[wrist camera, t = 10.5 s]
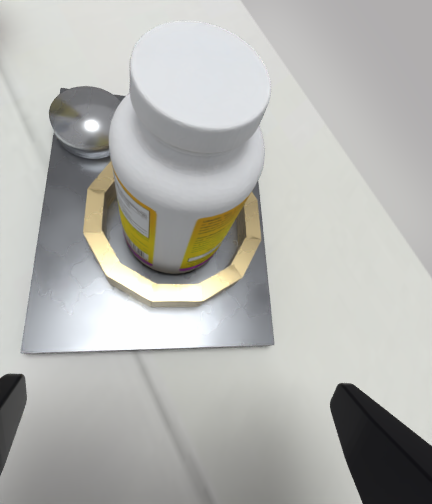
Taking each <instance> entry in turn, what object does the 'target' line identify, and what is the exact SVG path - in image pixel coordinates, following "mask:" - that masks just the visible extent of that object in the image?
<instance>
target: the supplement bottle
mask: <svg viewBox="0 0 432 504" xmlns="http://www.w3.org/2000/svg"><path fill="white" fill-rule="evenodd" d="M129 91H130V93H129V94H128V95H127V96H126V97H125V98H124V99H123V100H122V101H121V103H120V104H119V106H118V107H117V109H116V111H115V113H114V115H113V118H112V121H111V125H110V130H109V150H110V158H111V164H112V169H113V175H114V180H115V187H116V193H117V199H118V205H119V211H120V217H121V223H122V229H123V233H124V237H125V240H126V243H127V245H128V247H129V248H130V250H131V252H132V253H133V254H134V255H135V257H136V258H137V259H138V260H140V261H141V262H142V263H143V264H145V265H146V266H148V267H150V268H152V269H154V270H156V271H160V272H163V273H170V274H179V273H186V272H190V271H193V270H195V269H197V268H199V267H201V266H203V265H204V264H205V263H207V262H208V261H209V260H210V259H211V258H212V257H213V255H214V254H215V253H216V251H217V250H218V248H219V246H220V245H221V243H222V241H223V240H224V238H225V236H226V235H227V233H228V231H229V229H230V228H231V226H232V224H233V223H234V221H235V219H236V217H237V216H238V214H239V212H240V211H241V209H242V207H243V206H244V204H245V202H246V201H247V199H248V197H249V196H250V194H251V192H252V191H253V189H254V187H255V185H256V183H257V182H258V180H259V177H260V175H261V172H262V169H263V165H264V156H265V148H264V140H263V135H262V132H261V129H260V126H259V125H260V122H261V120H262V118H263V115H264V113H265V110H266V108H267V106H268V103H269V100H270V95H271V81H270V77H269V73H268V70H267V68H266V66H265V64H264V62H263V60H262V59H261V57H260V56H259V55H258V53H257V52H256V51H255V50H254V49H253V48H252V47H251V46H250V45H249V44H248V43H246V42H245V41H244V40H243V39H241V38H240V37H238V36H237V35H235V34H233V33H232V32H230V31H228V30H226V29H224V28H221V27H219V26H215V25H212V24H208V23H204V22H198V21H172V22H168V23H164V24H161V25H159V26H156V27H154V28H152V29H151V30H149V31H148V32H146V33H145V34H144V35H143V36H142V37H141V38H140V39H139V40H138V42H137V43H136V45H135V46H134V48H133V51H132V54H131V58H130V89H129Z"/></svg>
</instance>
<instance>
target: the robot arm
mask: <svg viewBox="0 0 432 504" xmlns="http://www.w3.org/2000/svg"><path fill="white" fill-rule="evenodd" d="M26 400H27V394H26V383H25V376H24V375H23V374H6V375H4V376H2V377H1V378H0V475H1V473H2V470H3V468H4V465H5V463H6V460H7V457H8V454H9V451H10V448H11V446H12V443H13V440H14V437H15V434H16V431H17V428H18V425H19V422H20V420H21V417H22V414H23V411H24V408H25V405H26ZM330 409H331V413H332V417H333V420H334V423H335V427H336V430H337V433H338V437H339V440H340V443H341V447H342V450H343V453H344V456H345V459H346V462H347V465H348V467H349V470H350V473H351V475H352V478H353V480H354V483H355V485H356V488H357V490H358V493H359V495H360V498H361V500H362V503H363V504H432V446H431V445H430V444H428V443H427V442H426V441H425V440H423V439H422V438H421V437H420V436H418V435H417V434H416V433H414V432H413V431H412V430H411V429H409V428H408V427H407V426H406V425H404V424H403V423H402V422H400V421H399V420H398V419H397V418H395V417H394V416H393V415H392V414H390V413H389V412H388V411H387V410H385V409H384V408H383V407H381V406H380V405H379V404H378V403H376V402H375V401H374V400H373V399H371V398H370V397H369V396H367V395H366V394H365V393H364V392H362V391H361V390H360V389H359V388H357V387H356V386H355V385H353V384H350V383H340V384H338V385H337V387H336V390H335V392H334V394H333V397H332V399H331V401H330Z"/></svg>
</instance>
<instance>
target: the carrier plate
mask: <svg viewBox="0 0 432 504" xmlns="http://www.w3.org/2000/svg"><path fill="white" fill-rule="evenodd" d="M125 97H126V96H120V95H113V94H111V93H109V92H108V91H105V90H103V89H100V88H96V87H89V86H81V87H75V88H71V89H65V88H61V89H60V94H59V95H58V96H57V97H56V98H55V99H54V101H53V102H52V104H51V106H50V110H49V118H50V122H51V125H52V127H53V130H54V135H53V142H52V149H51V155H50V162H49V168H48V175H47V182H46V188H45V195H44V201H43V208H42V214H41V221H40V228H39V234H38V241H37V247H36V254H35V261H34V267H33V274H32V280H31V287H30V293H29V300H28V307H27V313H26V320H25V326H24V333H23V340H22V346H21V353H23V354H38V353H67V352H97V351H127V350H157V349H187V348H217V347H246V346H270V345H274V336H273V326H272V316H271V305H270V295H269V285H268V275H267V265H266V255H265V245H264V235H263V225H262V214H261V204H260V194H259V184H258V182H257V183H256V185H255V187H254V189H253V191H252V192H251V194H250V196H249V197H248V199H247V201H246V202H245V204H244V206H243V207H242V209H241V211H240V212H239V214H238V216H237V217H236V219H235V221H234V223H233V224H232V226H231V228H230V229H229V231H228V233H227V235H226V236H225V238H224V240H223V241H222V243H221V245H220V246H219V248H218V250H217V251H216V253H215V254H214V255H213V257H212V258H211V259H210V260H209V261H208V262H207V263H205V264H204V265H203V266H201V267H199V268H197V269H195V270H193V271H190V272H186V273H179V274H170V273H163V272H160V271H156V270H154V269H152V268H150V267H148V266H146V265H145V264H143V263H142V262H141V261H140V260H138V259H137V258H136V257H135V255H134V254H133V253H132V252H131V250H130V248H129V247H128V245H127V243H126V240H125V237H124V233H123V229H122V223H121V217H120V211H119V205H118V199H117V193H116V187H115V180H114V175H113V169H112V164H111V158H110V150H109V130H110V125H111V121H112V118H113V115H114V113H115V111H116V109H117V107H118V106H119V104H120V103H121V101H122V100H123V99H124V98H125Z"/></svg>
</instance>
